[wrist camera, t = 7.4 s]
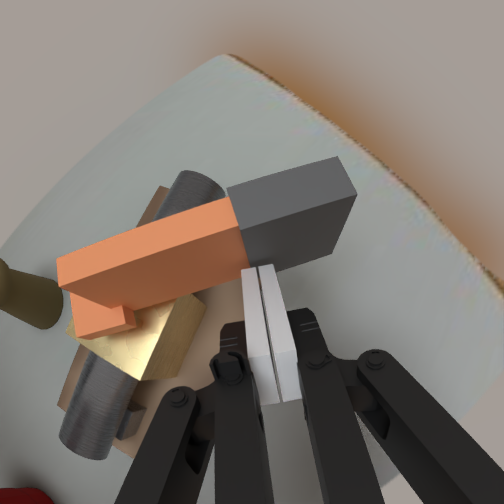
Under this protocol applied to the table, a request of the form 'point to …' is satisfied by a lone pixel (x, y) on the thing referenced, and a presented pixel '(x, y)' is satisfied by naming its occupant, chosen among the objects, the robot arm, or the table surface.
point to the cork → (30, 297)
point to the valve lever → (208, 245)
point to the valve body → (135, 349)
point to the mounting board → (196, 360)
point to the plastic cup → (23, 496)
